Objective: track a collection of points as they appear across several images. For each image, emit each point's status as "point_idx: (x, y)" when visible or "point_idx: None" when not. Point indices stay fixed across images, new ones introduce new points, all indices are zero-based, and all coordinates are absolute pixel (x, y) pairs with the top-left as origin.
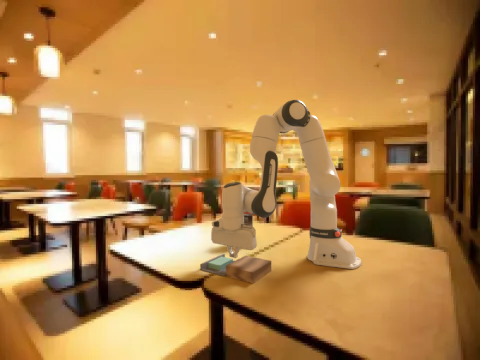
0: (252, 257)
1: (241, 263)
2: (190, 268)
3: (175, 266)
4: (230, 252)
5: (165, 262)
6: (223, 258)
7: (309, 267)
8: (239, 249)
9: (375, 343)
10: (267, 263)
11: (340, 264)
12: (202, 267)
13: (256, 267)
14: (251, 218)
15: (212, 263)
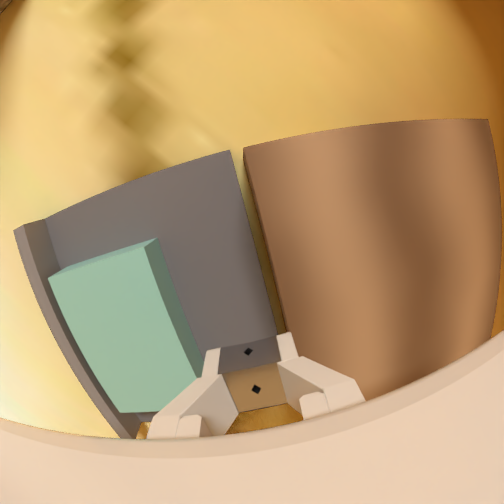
0: (350, 143)
1: (378, 343)
2: (93, 424)
3: (55, 430)
4: (235, 415)
5: (14, 416)
6: (91, 301)
7: (478, 7)
8: (348, 382)
9: None
10: (497, 182)
11: None
12: (138, 427)
13: (484, 301)
14: None
15: (147, 409)
